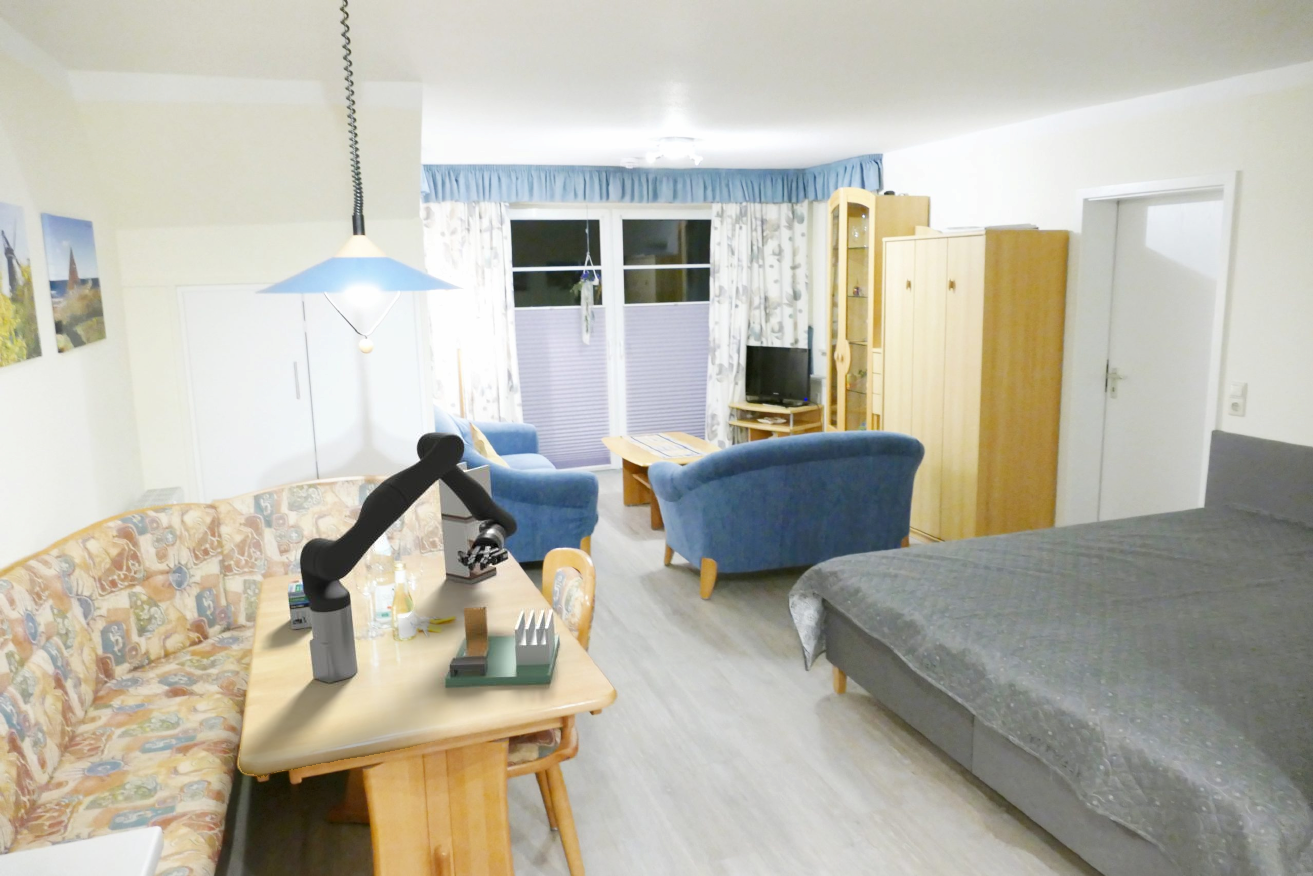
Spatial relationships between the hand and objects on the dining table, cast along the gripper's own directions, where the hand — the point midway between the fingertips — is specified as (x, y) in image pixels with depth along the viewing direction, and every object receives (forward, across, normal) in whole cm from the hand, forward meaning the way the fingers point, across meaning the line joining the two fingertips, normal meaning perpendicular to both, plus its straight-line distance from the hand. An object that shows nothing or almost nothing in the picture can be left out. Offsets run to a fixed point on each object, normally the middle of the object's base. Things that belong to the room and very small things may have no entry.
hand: (476, 566), depth 225 cm
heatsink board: (+8, +7, +22) cm, 24 cm away
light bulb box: (-24, -53, +22) cm, 63 cm away
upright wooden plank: (+8, 0, +20) cm, 21 cm away
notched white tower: (-58, -13, +22) cm, 63 cm away
